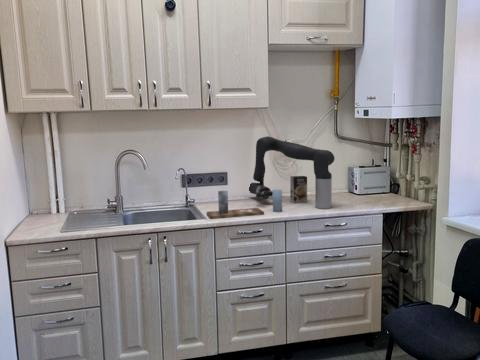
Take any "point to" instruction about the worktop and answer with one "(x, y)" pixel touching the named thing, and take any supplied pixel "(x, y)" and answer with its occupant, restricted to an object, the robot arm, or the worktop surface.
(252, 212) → the board
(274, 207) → the column
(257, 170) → the robot arm
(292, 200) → the coffee box
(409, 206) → the worktop surface
